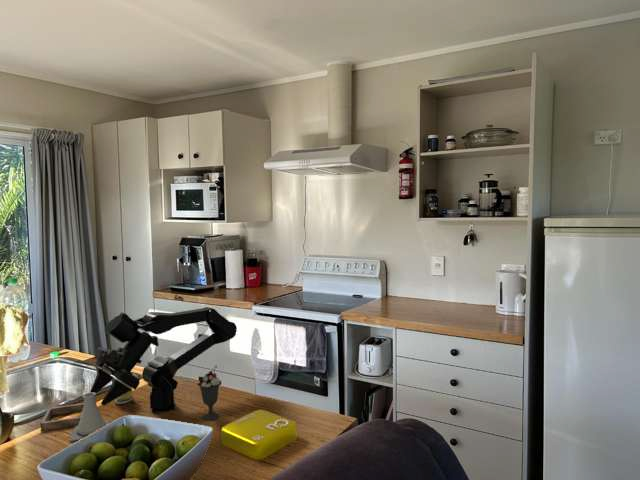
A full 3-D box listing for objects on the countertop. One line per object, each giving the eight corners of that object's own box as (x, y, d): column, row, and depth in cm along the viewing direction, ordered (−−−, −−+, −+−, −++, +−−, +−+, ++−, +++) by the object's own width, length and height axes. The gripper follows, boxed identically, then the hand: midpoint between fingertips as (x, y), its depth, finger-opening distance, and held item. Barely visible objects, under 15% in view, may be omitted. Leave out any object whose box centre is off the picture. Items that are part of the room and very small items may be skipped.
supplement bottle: (136, 399, 152) (134, 369, 151) (121, 405, 147) (119, 374, 146) (125, 395, 154) (123, 366, 154) (110, 402, 150) (108, 371, 149)
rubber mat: (110, 421, 136) (110, 420, 136) (107, 436, 128) (107, 434, 128) (75, 427, 133) (75, 425, 133) (69, 442, 125) (69, 440, 125)
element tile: (260, 422, 135) (260, 406, 134) (300, 438, 125) (299, 420, 125) (218, 444, 123) (217, 426, 123) (258, 463, 114) (258, 444, 113)
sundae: (227, 416, 138) (225, 366, 137) (207, 424, 133) (205, 372, 132) (214, 409, 143) (212, 361, 141) (194, 417, 138) (192, 367, 136)
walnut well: (88, 408, 145) (88, 402, 145) (83, 424, 135) (82, 417, 135) (49, 414, 142) (48, 408, 142) (40, 430, 132) (40, 423, 131)
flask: (89, 422, 135) (87, 388, 134) (111, 424, 133) (109, 390, 133) (70, 435, 128) (68, 398, 127) (94, 437, 126) (91, 400, 126)
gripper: (100, 330, 140) (61, 377, 133) (125, 342, 127) (84, 395, 120) (128, 349, 146) (93, 395, 140) (155, 363, 133) (118, 415, 126)
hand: (96, 399), depth 131 cm, fingers open, 9 cm apart
